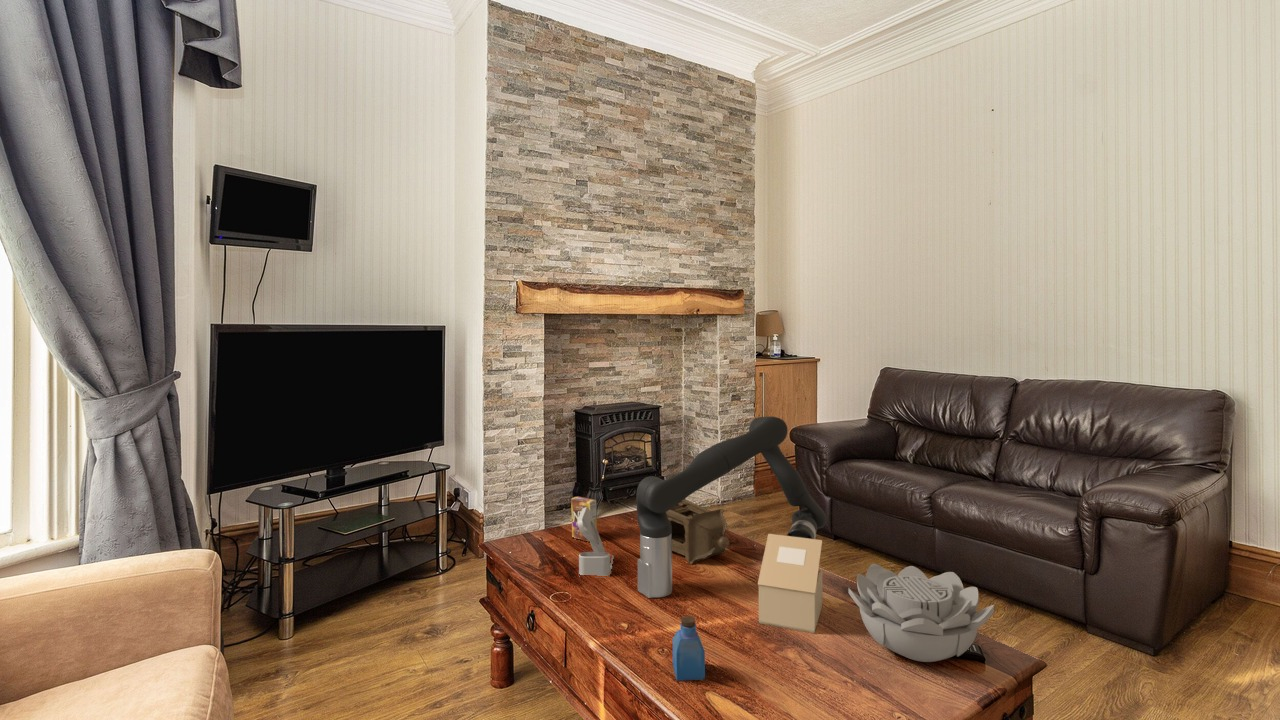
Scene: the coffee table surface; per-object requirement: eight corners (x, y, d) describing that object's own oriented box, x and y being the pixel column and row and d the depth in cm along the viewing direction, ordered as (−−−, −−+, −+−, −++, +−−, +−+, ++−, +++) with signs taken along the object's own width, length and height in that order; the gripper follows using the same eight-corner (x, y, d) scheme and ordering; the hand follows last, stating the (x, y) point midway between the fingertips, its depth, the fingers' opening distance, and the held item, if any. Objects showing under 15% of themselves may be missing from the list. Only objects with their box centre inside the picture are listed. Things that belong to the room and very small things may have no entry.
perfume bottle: (672, 665, 138) (672, 613, 138) (699, 663, 139) (699, 612, 138) (676, 680, 132) (676, 626, 131) (704, 679, 133) (704, 625, 132)
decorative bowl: (830, 618, 159) (830, 562, 159) (945, 619, 158) (946, 562, 158) (870, 686, 129) (871, 617, 128) (1013, 687, 128) (1014, 617, 127)
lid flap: (768, 534, 169) (768, 533, 169) (822, 541, 163) (822, 539, 163) (757, 585, 157) (757, 583, 156) (815, 594, 151) (815, 592, 151)
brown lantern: (743, 570, 199) (749, 514, 199) (704, 577, 188) (711, 517, 188) (673, 539, 227) (678, 490, 227) (636, 543, 216) (641, 492, 216)
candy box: (571, 539, 222) (570, 498, 222) (578, 536, 226) (577, 495, 225) (590, 543, 218) (589, 501, 217) (597, 540, 221) (597, 499, 220)
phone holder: (610, 577, 188) (609, 520, 187) (577, 577, 188) (576, 520, 187) (614, 556, 205) (613, 504, 204) (584, 556, 205) (583, 504, 204)
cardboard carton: (770, 598, 172) (770, 563, 171) (822, 606, 166) (822, 570, 166) (758, 623, 157) (758, 585, 157) (814, 633, 152) (814, 594, 151)
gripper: (778, 521, 180) (767, 540, 164) (824, 526, 175) (818, 546, 159) (778, 546, 181) (767, 567, 165) (824, 551, 176) (817, 574, 160)
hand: (792, 557), depth 162 cm, fingers closed
